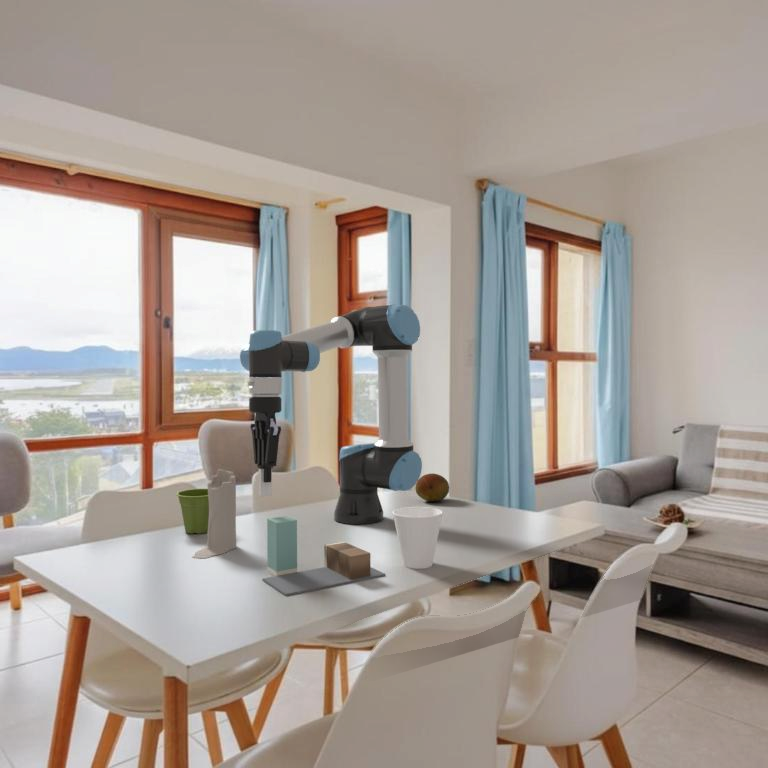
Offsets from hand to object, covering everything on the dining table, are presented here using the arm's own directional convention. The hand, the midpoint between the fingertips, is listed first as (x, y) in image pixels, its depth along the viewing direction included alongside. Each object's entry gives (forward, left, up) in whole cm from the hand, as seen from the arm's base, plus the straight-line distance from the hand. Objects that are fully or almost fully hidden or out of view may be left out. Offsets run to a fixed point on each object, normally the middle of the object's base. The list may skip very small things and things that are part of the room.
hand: (265, 495), depth 155 cm
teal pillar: (+9, 0, -16) cm, 18 cm away
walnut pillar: (+11, +12, -13) cm, 21 cm away
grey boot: (-17, -7, -16) cm, 25 cm away
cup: (+21, +29, -16) cm, 39 cm away
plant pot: (-40, -4, -16) cm, 43 cm away
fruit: (-38, +78, -16) cm, 89 cm away
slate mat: (+18, +6, -16) cm, 25 cm away
